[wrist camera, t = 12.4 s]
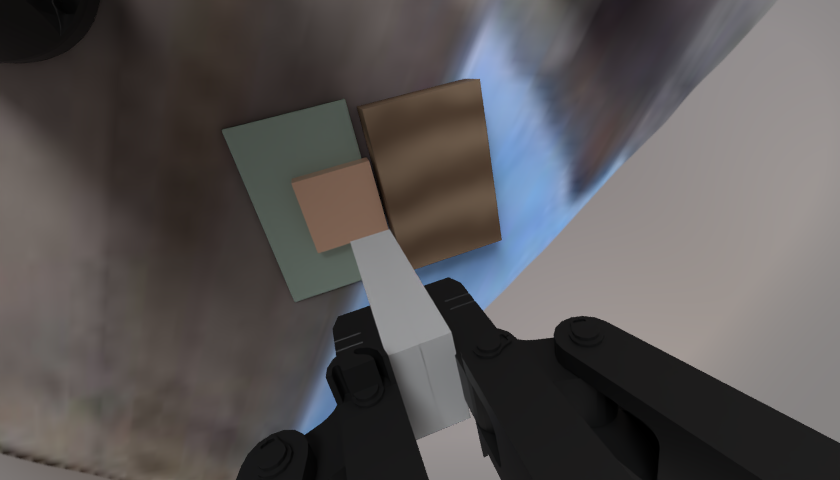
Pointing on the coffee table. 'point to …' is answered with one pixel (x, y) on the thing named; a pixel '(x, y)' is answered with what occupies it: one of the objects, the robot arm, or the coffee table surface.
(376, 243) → the robot arm
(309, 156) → the sage mat
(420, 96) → the block
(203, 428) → the coffee table surface
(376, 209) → the terracotta tile
